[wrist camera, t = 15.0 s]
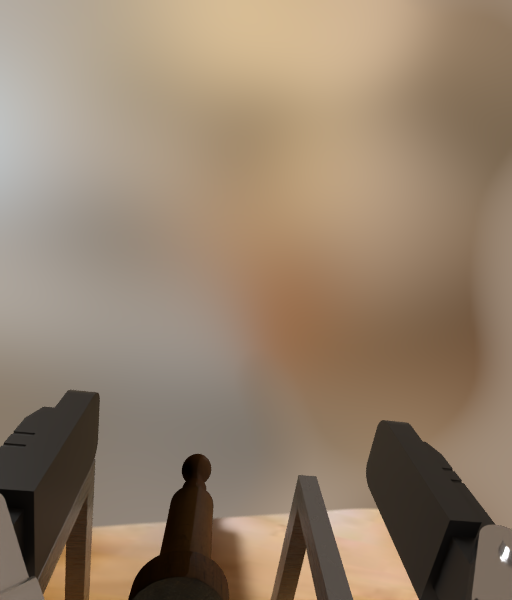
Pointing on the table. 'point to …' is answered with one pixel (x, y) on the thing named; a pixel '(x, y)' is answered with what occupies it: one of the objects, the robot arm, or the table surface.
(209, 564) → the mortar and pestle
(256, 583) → the table surface
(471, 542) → the robot arm
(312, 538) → the frame
